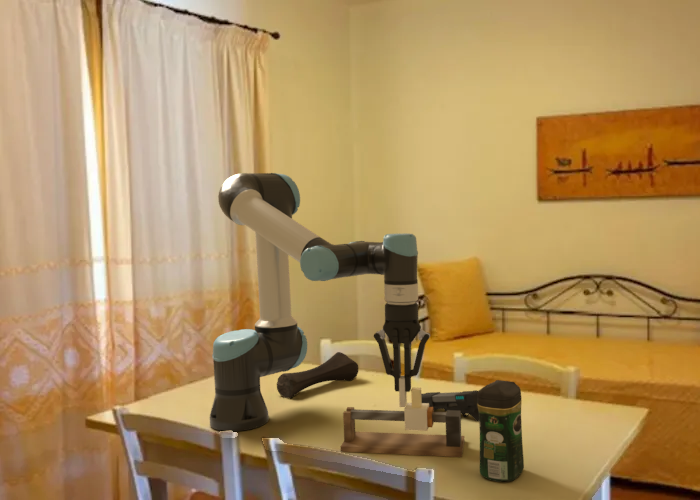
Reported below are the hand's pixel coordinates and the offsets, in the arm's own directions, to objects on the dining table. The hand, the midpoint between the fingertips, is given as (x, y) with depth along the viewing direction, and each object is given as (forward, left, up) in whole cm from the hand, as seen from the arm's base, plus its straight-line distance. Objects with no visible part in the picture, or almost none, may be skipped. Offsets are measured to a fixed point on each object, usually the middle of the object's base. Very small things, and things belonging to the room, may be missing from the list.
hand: (403, 405), depth 153 cm
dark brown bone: (-33, +47, -10) cm, 58 cm away
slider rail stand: (0, 0, -10) cm, 10 cm away
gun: (+8, +25, -10) cm, 28 cm away
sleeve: (+3, 0, -5) cm, 6 cm away
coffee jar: (+22, -13, -10) cm, 27 cm away
